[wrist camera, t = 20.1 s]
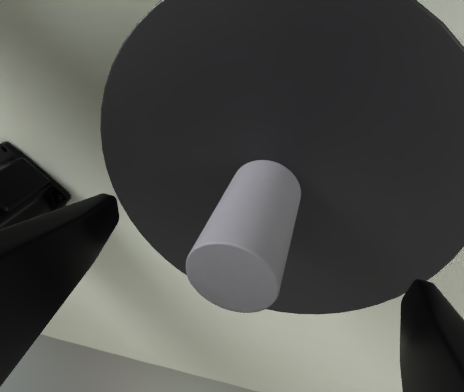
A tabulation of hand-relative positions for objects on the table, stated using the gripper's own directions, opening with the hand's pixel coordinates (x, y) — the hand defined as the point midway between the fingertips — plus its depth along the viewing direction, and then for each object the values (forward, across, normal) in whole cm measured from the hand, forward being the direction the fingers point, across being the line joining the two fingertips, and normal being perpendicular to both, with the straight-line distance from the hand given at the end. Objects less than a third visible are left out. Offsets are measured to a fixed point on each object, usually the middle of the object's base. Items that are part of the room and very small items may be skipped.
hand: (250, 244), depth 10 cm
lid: (+4, 0, 0) cm, 4 cm away
